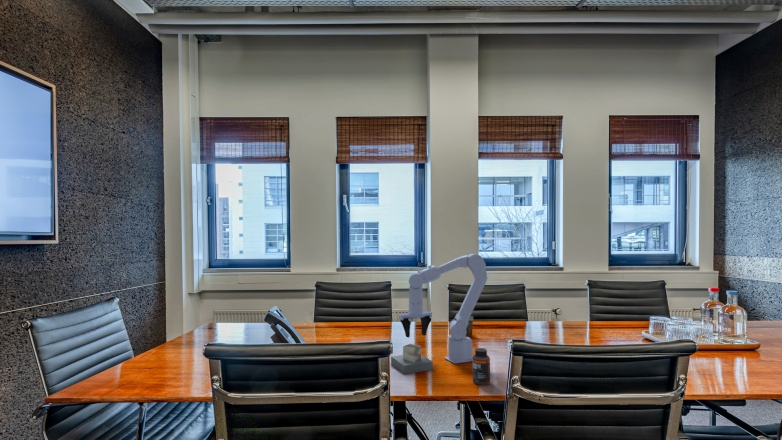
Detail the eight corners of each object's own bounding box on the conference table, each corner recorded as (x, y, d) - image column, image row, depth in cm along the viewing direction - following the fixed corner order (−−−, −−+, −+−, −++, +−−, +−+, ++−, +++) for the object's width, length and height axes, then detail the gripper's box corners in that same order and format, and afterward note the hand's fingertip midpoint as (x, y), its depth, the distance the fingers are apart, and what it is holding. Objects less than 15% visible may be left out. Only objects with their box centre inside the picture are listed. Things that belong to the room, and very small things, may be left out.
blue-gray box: (418, 360, 164) (418, 352, 164) (432, 369, 153) (432, 361, 153) (391, 364, 159) (391, 356, 160) (404, 374, 148) (404, 365, 149)
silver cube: (410, 356, 160) (410, 343, 160) (421, 358, 157) (421, 345, 157) (403, 359, 156) (403, 346, 156) (413, 362, 153) (413, 348, 153)
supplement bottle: (487, 379, 144) (487, 347, 144) (492, 385, 138) (492, 352, 138) (470, 379, 143) (470, 347, 144) (474, 385, 138) (474, 352, 138)
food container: (451, 331, 212) (451, 312, 213) (462, 330, 214) (462, 311, 215) (462, 337, 201) (462, 317, 201) (473, 336, 203) (473, 316, 203)
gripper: (404, 305, 160) (404, 340, 160) (436, 302, 166) (436, 336, 166) (396, 302, 166) (396, 336, 166) (427, 300, 173) (427, 332, 172)
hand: (415, 335), depth 166 cm, fingers open, 7 cm apart
